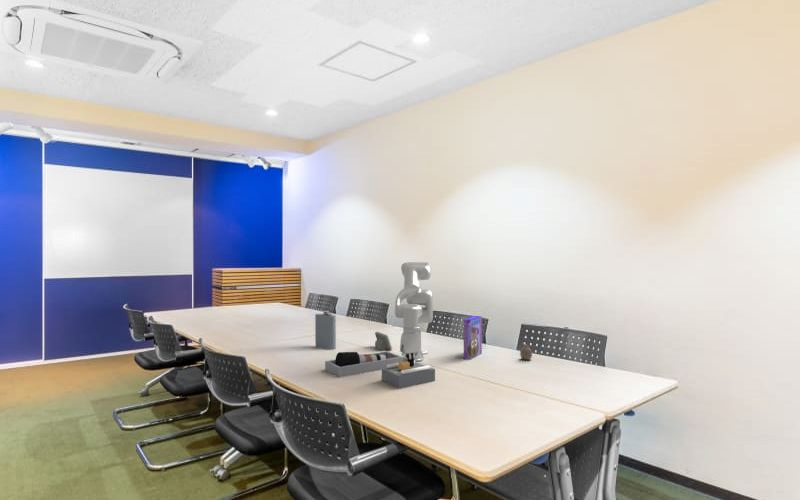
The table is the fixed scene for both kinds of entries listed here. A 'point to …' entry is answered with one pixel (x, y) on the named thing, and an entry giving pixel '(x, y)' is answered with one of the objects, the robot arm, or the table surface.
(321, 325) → the flask
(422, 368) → the cord
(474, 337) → the cereal box
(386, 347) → the grey rock
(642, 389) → the table surface
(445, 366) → the table surface
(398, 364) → the cord
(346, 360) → the cable
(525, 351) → the vase
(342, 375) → the grey tray
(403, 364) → the block
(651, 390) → the table surface
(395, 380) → the grey slider switch panel
